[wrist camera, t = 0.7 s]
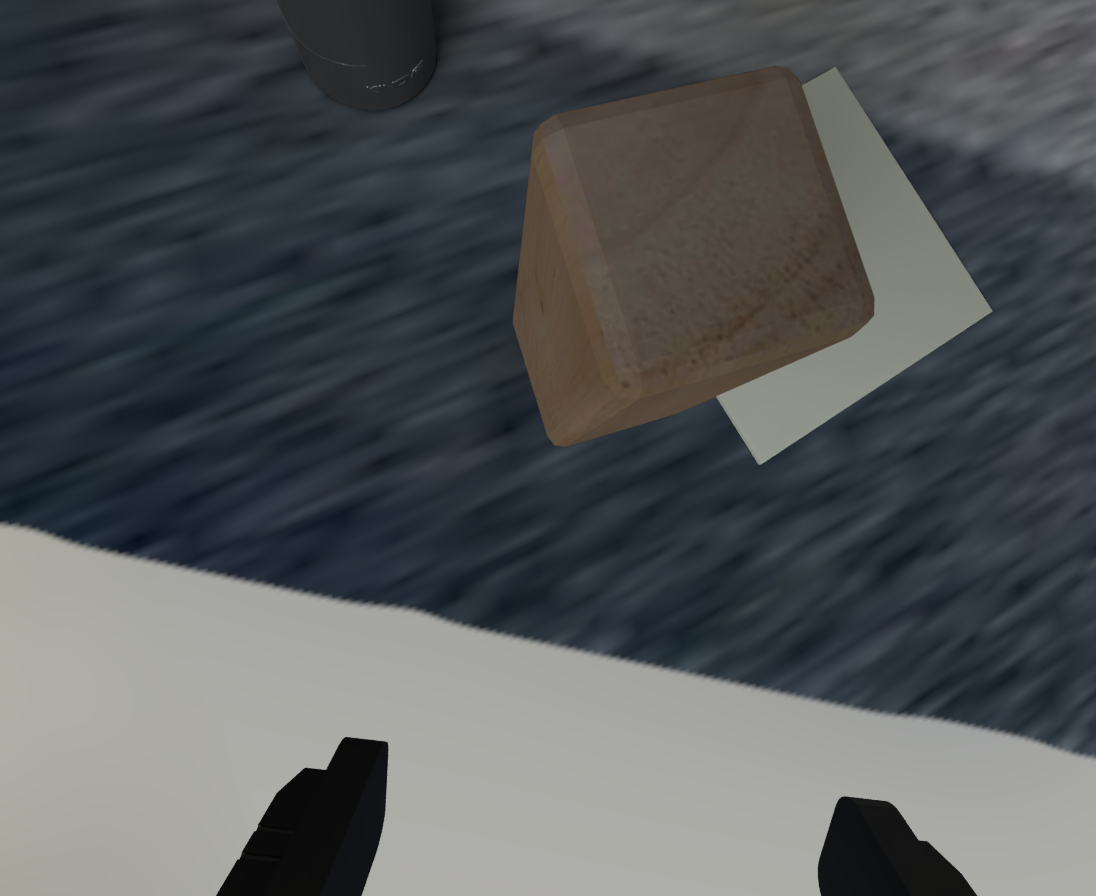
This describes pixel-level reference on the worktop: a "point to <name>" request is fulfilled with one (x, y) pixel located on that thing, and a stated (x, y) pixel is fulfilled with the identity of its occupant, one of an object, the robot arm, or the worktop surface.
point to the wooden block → (679, 252)
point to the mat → (895, 277)
